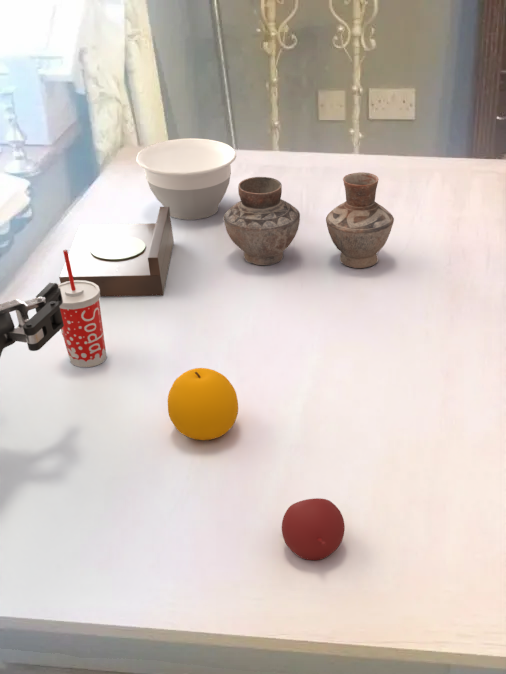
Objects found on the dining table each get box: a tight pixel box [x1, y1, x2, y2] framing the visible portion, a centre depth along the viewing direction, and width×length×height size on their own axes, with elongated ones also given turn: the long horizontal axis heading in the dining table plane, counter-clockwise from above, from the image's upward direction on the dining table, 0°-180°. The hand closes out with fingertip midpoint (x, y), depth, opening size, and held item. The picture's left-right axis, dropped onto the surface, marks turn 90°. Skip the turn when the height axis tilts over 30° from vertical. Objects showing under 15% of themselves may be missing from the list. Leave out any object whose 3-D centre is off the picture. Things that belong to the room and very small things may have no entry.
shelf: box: [58, 206, 175, 298], centre depth 131 cm, size 14×18×6 cm
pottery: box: [223, 171, 395, 269], centre depth 131 cm, size 11×25×12 cm, turn 86°
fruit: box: [281, 497, 346, 561], centre depth 86 cm, size 6×6×8 cm
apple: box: [167, 367, 239, 441], centre depth 101 cm, size 8×8×8 cm
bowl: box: [135, 137, 237, 221], centre depth 146 cm, size 16×16×8 cm
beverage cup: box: [57, 249, 108, 368], centre depth 110 cm, size 6×6×14 cm
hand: (19, 287), depth 97 cm, fingers open, 8 cm apart
